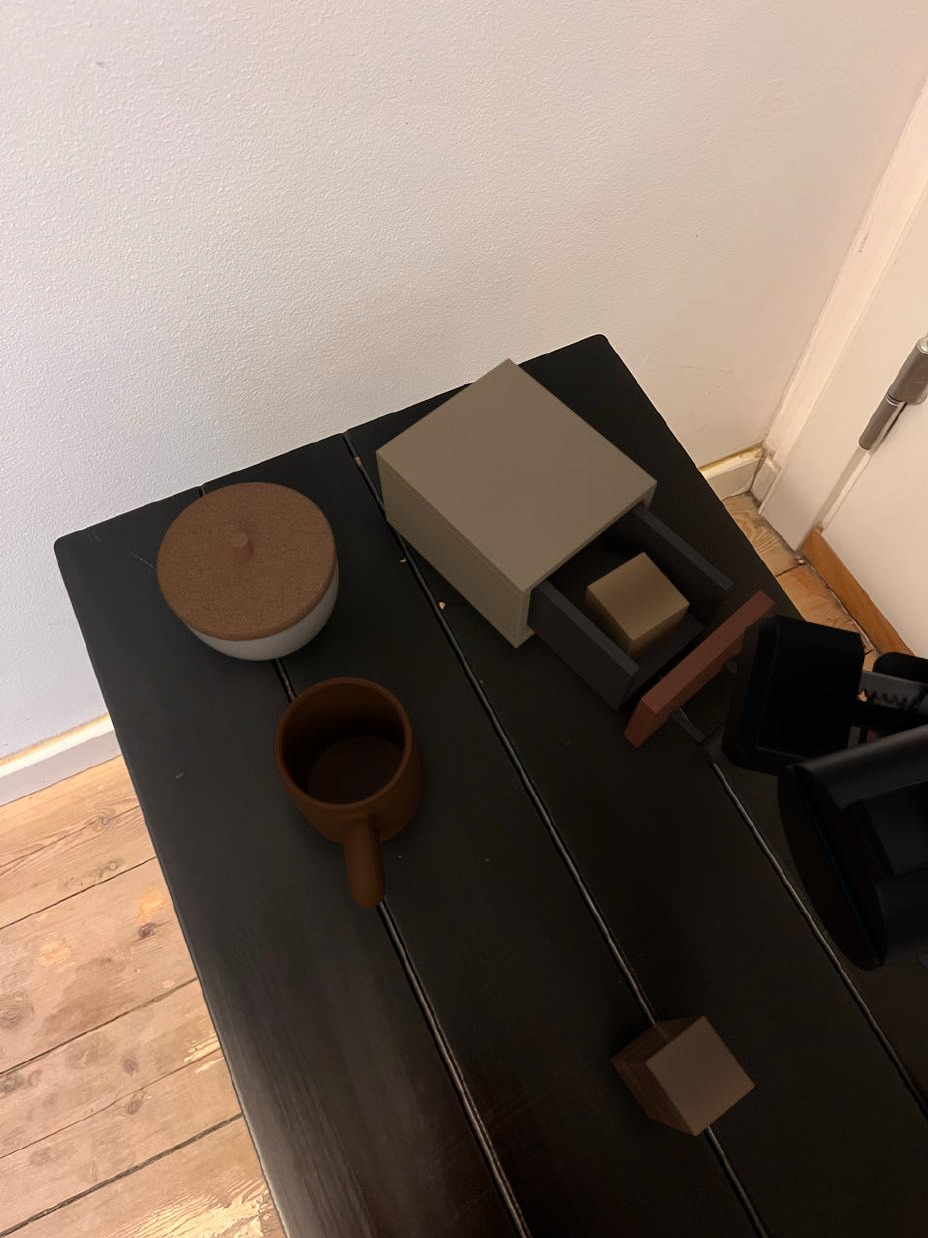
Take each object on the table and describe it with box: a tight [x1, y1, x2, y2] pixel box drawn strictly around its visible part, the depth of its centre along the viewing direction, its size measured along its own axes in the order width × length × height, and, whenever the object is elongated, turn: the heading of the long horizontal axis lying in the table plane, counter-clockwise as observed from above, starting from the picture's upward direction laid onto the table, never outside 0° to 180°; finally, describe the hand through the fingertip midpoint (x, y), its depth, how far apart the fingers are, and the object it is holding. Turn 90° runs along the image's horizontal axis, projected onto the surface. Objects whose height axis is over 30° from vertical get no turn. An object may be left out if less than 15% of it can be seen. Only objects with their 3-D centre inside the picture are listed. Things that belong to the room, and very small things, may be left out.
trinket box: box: [156, 481, 340, 662], centre depth 55 cm, size 11×11×9 cm
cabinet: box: [375, 357, 658, 649], centre depth 58 cm, size 14×12×8 cm
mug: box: [272, 676, 423, 909], centre depth 49 cm, size 12×8×9 cm, turn 11°
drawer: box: [527, 503, 776, 765], centre depth 54 cm, size 16×10×6 cm, turn 42°
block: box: [581, 552, 689, 661], centre depth 55 cm, size 4×4×4 cm
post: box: [610, 1014, 756, 1137], centre depth 42 cm, size 3×3×10 cm
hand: (880, 731), depth 43 cm, fingers closed
